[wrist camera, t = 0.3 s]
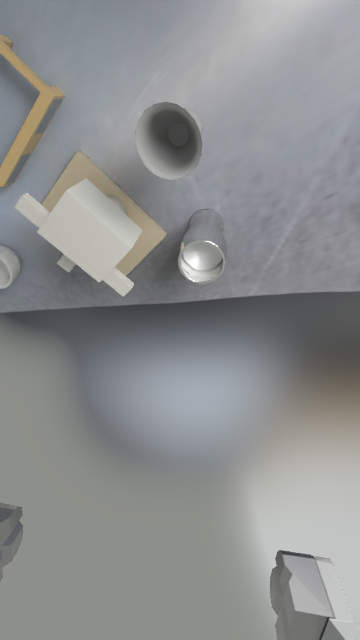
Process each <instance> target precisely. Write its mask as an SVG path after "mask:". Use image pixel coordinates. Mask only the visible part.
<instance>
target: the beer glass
mask: <svg viewBox="0 0 360 640" xmlns="http://www.w3.org/2000/svg"><path fill="white" fill-rule="evenodd" d="M223 229H224V224H223V220H222V218H221V216H220V215H219V214H218V213H217V212H215V211H213V210H210V209H203V210H200V211H198V212H196V213H195V214H194V215H193V216H192V218H191V219H190V222H189V230H188V231H187V232H186V234H185V235H184V237H183V239H182V242H181V244H180V249H179V257H178V266H179V269H180V272H181V273H182V275H183V276H184V277H185V278H186V279H188V280H189V281H191V282H194V283H197V284H207V283H210V282H213V281H215V280H216V279H218V278H219V277H220V276H221V274H222V273H223V271H224V268H225V262H226V256H227V246H226V241H225V238H224V235H223V233H222V232H223Z"/></svg>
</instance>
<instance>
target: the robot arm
mask: <svg viewBox="0 0 360 640" xmlns="http://www.w3.org/2000/svg"><path fill="white" fill-rule="evenodd" d="M21 517H22V507H19V506H14V505H9V504H4V503H0V580H1V578H2V577H3V571H2V568H3V567H4V566H5V565H7V564H8V563H9V562H11V561H12V560H13V558H14V556H15V554H16V553H17V551H18V548H19V546H20V543H21V540H22V535H23V525H22V524H21V523H20V521H19V520H20V518H21ZM275 559H276V564H277V566H276V567H275V568H273V569H272V573H271V577H270V596H271V603H272V608H273V609H274V610H275V612H276V614H277V615H278V619H277V622H276V625H275V627H276V633H277V639H278V640H360V624H359V623H355V621H354V619H353V616H352V613H351V611H350V608H349V605H348V602H347V600H346V597H345V594H344V592H343V589H342V587H341V584H340V581H339V578H338V576H337V573H336V571H335V568H334V565H333V563H332V561H331V560H330V559H329V558H324V557H317V556H311V555H307V554H302V553H294V552H289V551H282V550H279V551H278V552H277V555H276V558H275Z"/></svg>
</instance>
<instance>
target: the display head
mask: <svg viewBox="0 0 360 640" xmlns="http://www.w3.org/2000/svg"><path fill="white" fill-rule="evenodd" d="M14 208H15V209H17V210H18V211H19V212H20V213H22V214H23V215H24V216H25V217H26V218H28V219H29V220H30V221H31V222H33V223H34V224H35V225H36V226H37V227H39V228H40V229H39V230H38V231H37V233H38V234H40V235H41V236H42V237H43V238H45V239H46V240H47V241H48V242H50V243H51V244H52V245H53V246H54V247H56V248H57V249H58V250H59V251H61V252H62V253H63V254H64V255H63V256H62V257H61V258H60V260H59V261H58V262H57V264H58V265H60V266H61V267H62V268H63V269H65V270H66V271H67V272H68V273H69V272H70V271H71V270H72V269H73V268H74V266H75V265H76V264H77V265H78V266H79V267H80V268H82V269H83V270H84V271H85V272H87V273H88V274H89V275H90V276H91V277H93V278H94V279H95V280H96V281H98V282H99V283H100V282H101V281H102V280H103V281H105V282H106V283H107V284H108V285H110V286H111V287H112V288H113V289H114V290H116V291H117V292H118V293H119V294H121V295H122V296H123V297H124V296H125V295H126V294H127V293H128V292H129V291H130V290H131V289H132V287H133V285H134V283H133V282H132V281H131V280H129V279H128V278H127V277H126V276H127V275H128V274H129V273H130V272H131V271H132V270H133V269H134V268H135V267H136V266H137V265H138V264H139V263H140V262H141V261H142V260H143V259H144V258H145V257H146V256H147V255H148V254H149V253H150V252H151V251H152V250H153V249H154V248H155V247H156V246H157V245H158V244H159V243H160V242H161V241H162V240H163V239H164V238H165V237H166V234H167V233H166V232H165V231H164V230H163V229H162V228H161V227H160V226H159V225H157V224H156V223H155V222H154V221H153V220H152V219H151V218H150V217H149V216H148V215H147V214H146V213H145V212H144V211H143V210H142V209H141V208H140V207H139V206H138V205H137V204H136V203H135V202H134V201H133V200H131V199H130V198H129V197H128V196H127V195H126V194H125V193H124V192H123V191H122V190H121V189H120V188H119V187H118V186H117V185H116V184H115V183H114V182H113V181H112V180H111V179H110V178H109V177H108V176H107V175H105V174H104V173H103V172H102V171H101V170H100V169H99V168H98V167H97V166H96V165H95V164H94V163H93V162H92V161H91V160H90V159H89V158H88V157H87V156H86V155H85V154H84V153H83V152H82V151H81V150H80V151H77V152H76V154H75V155H74V157H73V158H72V160H71V161H70V163H69V164H68V166H67V167H66V169H65V170H64V172H63V173H62V175H61V176H60V178H59V179H58V181H57V182H56V184H55V185H54V187H53V188H52V190H51V191H50V193H49V194H48V196H47V197H46V199H45V200H44V202H43V203H42V204H40V203H39V202H37V201H36V200H35V199H34V198H33V197H32V196H30V195H29V194H28V193H26V194H24V195H22V196H21V197H20V199H19V201H18V202H17V204H16V206H15V207H14Z"/></svg>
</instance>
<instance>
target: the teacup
mask: <svg viewBox="0 0 360 640" xmlns="http://www.w3.org/2000/svg"><path fill="white" fill-rule="evenodd" d="M20 268H21V265H20V260H19V258H18V256H17V255H16V254H15V253H14V252H13V251H12V250H10V249H9V248H7V247H4V246H0V289H3V288H6V287H8V286H9V285H10V284H11V283H12V282H13V281H14V280H15V279H16V278H17V276H18V275H19V273H20Z"/></svg>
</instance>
